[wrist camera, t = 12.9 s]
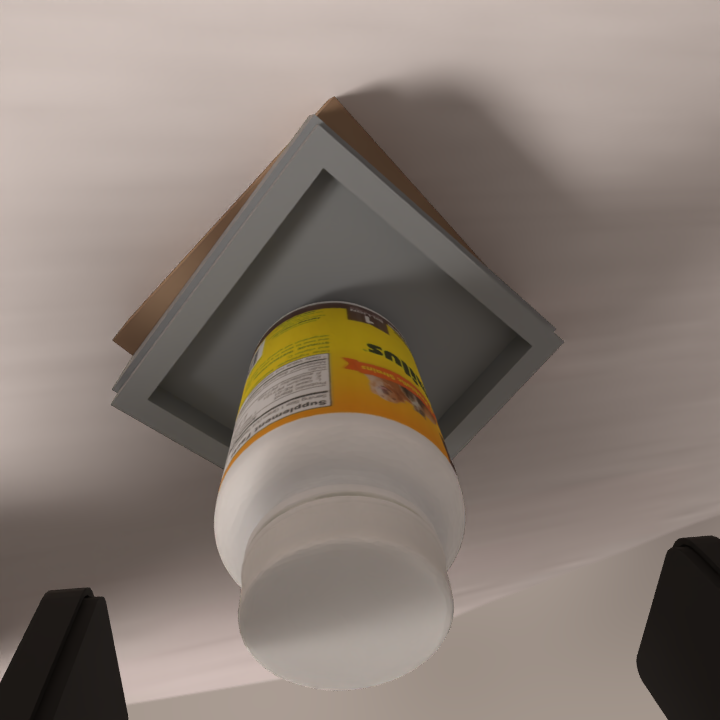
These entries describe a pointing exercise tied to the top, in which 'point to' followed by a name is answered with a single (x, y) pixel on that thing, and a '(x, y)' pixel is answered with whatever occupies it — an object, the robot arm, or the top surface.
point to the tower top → (332, 283)
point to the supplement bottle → (339, 503)
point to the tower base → (176, 280)
